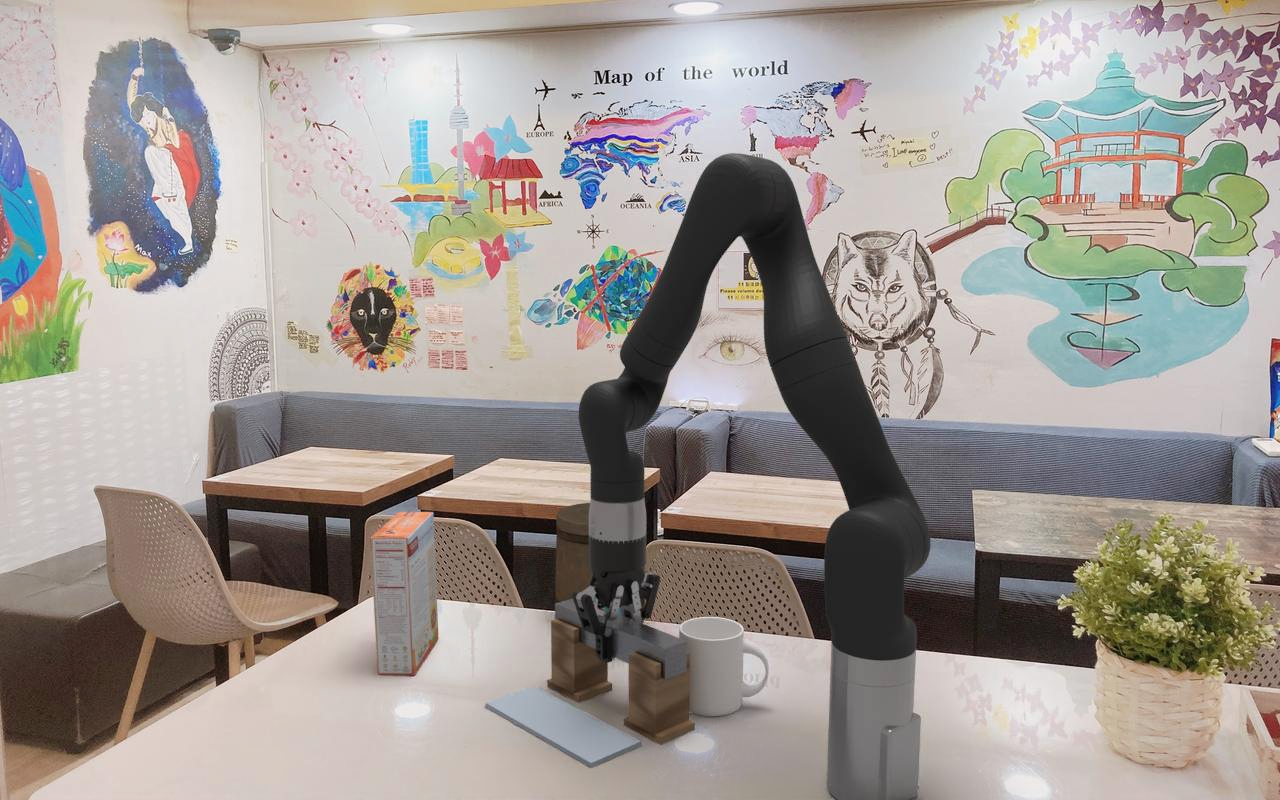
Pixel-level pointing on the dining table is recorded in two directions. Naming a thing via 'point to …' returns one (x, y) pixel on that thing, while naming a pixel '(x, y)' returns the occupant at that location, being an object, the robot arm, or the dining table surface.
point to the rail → (633, 640)
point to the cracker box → (404, 592)
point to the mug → (718, 665)
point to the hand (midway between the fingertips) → (617, 655)
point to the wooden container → (573, 551)
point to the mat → (563, 726)
